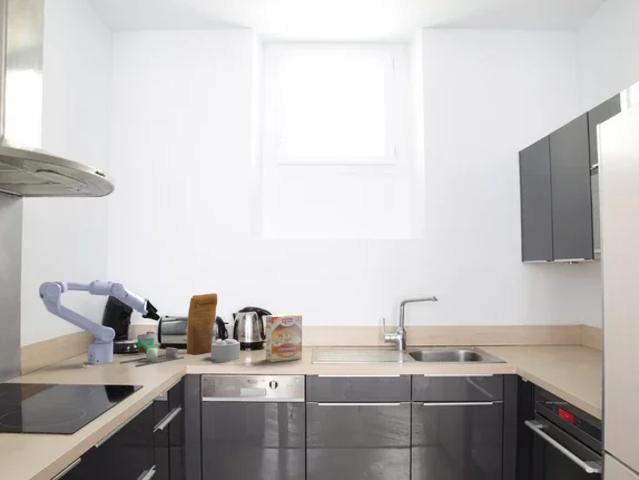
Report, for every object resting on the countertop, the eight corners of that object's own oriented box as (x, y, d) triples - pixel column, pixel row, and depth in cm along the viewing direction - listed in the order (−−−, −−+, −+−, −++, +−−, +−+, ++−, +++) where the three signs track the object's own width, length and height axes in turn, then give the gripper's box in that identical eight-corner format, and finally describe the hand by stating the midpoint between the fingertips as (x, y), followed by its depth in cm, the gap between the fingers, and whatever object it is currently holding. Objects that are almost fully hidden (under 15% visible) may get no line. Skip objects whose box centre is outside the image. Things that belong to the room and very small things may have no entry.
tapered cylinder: (150, 362, 208) (150, 350, 209) (144, 361, 211) (144, 349, 211) (159, 360, 212) (159, 348, 212) (153, 359, 215) (153, 347, 215)
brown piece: (150, 365, 206) (150, 353, 206) (137, 363, 211) (137, 351, 211) (179, 360, 218) (180, 349, 218) (167, 357, 223) (167, 347, 223)
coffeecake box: (271, 362, 214) (271, 316, 215) (265, 359, 221) (265, 315, 222) (302, 359, 221) (302, 314, 222) (295, 356, 228) (295, 313, 229)
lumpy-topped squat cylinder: (243, 358, 223) (243, 338, 224) (222, 363, 212) (222, 342, 213) (226, 356, 229) (226, 337, 229) (205, 360, 218) (205, 340, 218)
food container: (150, 357, 226) (150, 335, 226) (136, 357, 226) (137, 335, 226) (159, 352, 238) (159, 331, 239) (146, 352, 238) (147, 331, 239)
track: (137, 369, 199) (137, 365, 199) (120, 365, 206) (120, 361, 206) (184, 360, 218) (184, 356, 218) (166, 357, 225) (166, 354, 225)
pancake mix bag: (221, 350, 243) (222, 293, 244) (190, 356, 227) (191, 295, 229) (211, 349, 247) (212, 292, 248) (180, 355, 231) (181, 294, 233)
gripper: (140, 299, 214) (166, 314, 221) (136, 287, 226) (160, 302, 233) (129, 312, 213) (155, 327, 220) (126, 299, 226) (151, 314, 233)
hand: (157, 315), depth 227 cm, fingers open, 7 cm apart
